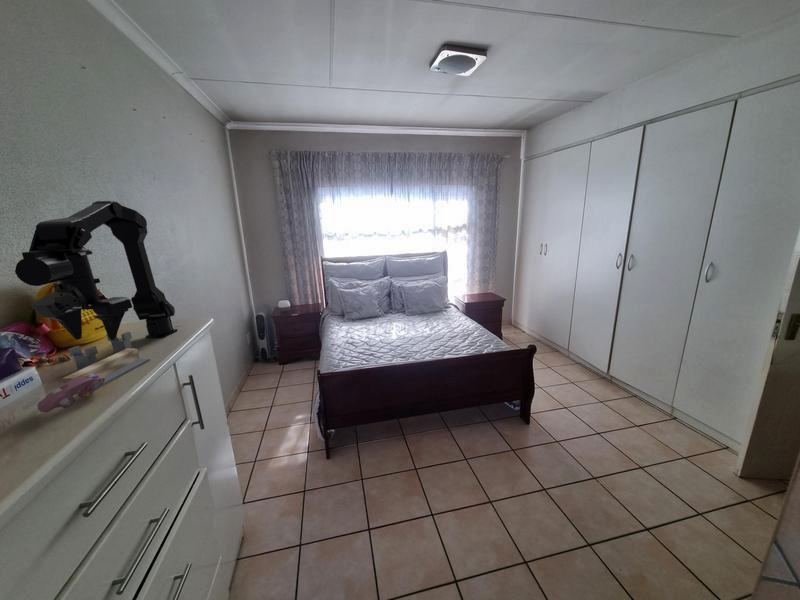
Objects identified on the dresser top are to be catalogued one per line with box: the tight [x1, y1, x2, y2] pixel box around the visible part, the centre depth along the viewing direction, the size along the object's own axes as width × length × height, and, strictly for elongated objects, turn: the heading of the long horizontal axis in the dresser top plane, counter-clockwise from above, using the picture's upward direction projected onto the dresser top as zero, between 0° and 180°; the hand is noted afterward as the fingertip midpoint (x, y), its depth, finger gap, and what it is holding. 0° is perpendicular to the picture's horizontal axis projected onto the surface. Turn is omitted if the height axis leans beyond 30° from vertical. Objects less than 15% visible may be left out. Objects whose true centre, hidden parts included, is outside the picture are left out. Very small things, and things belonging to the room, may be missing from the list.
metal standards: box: [67, 331, 134, 371], centre depth 87 cm, size 12×6×6 cm, turn 175°
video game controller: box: [37, 373, 105, 413], centre depth 66 cm, size 10×5×7 cm
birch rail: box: [61, 348, 141, 385], centre depth 79 cm, size 16×3×3 cm, turn 175°
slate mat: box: [96, 358, 151, 390], centre depth 79 cm, size 16×9×1 cm, turn 175°
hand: (95, 339), depth 77 cm, fingers open, 9 cm apart
